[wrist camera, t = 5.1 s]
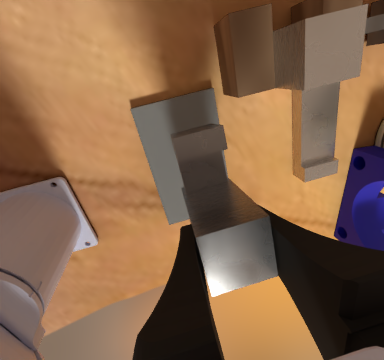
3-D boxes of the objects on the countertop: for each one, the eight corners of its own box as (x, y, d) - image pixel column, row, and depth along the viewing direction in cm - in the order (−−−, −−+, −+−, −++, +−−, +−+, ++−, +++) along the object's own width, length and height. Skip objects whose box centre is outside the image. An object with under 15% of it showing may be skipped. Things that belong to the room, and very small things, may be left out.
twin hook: (262, 182, 23) (302, 221, 17) (250, 40, 17) (305, 18, 11) (323, 165, 24) (384, 197, 17) (331, 20, 18) (429, -12, 12)
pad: (168, 221, 23) (169, 224, 23) (131, 108, 18) (130, 109, 18) (230, 203, 24) (232, 206, 23) (211, 87, 18) (213, 88, 18)
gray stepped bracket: (192, 227, 17) (211, 296, 11) (166, 135, 15) (171, 151, 8) (233, 215, 18) (278, 276, 11) (214, 122, 15) (256, 128, 9)
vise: (223, 94, 19) (238, 97, 16) (213, 26, 17) (228, 13, 13) (369, 56, 20) (412, 52, 16) (379, -14, 17) (431, -35, 14)
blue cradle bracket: (364, 229, 29) (412, 263, 24) (333, 235, 29) (375, 272, 23) (390, 142, 24) (460, 160, 19) (353, 148, 23) (414, 169, 18)
